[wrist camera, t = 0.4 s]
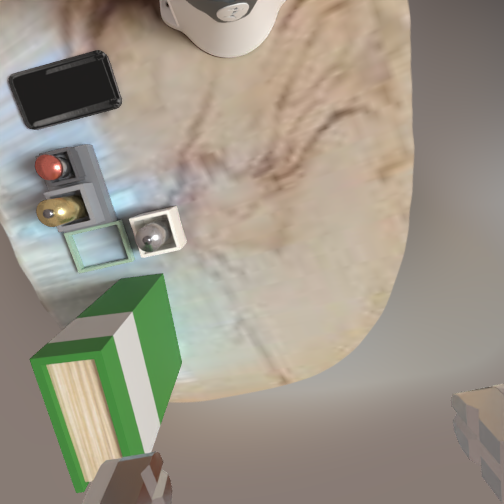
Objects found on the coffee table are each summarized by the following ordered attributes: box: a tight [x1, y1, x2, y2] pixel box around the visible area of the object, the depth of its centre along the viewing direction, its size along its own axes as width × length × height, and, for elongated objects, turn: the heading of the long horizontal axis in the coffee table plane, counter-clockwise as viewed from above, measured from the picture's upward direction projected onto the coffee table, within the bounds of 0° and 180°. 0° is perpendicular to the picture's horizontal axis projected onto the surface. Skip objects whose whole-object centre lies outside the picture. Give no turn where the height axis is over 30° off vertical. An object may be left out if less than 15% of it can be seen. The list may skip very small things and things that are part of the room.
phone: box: [9, 50, 122, 130], centre depth 48 cm, size 8×1×15 cm
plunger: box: [35, 155, 71, 180], centre depth 46 cm, size 3×3×3 cm
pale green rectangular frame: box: [64, 220, 135, 273], centre depth 54 cm, size 7×9×1 cm
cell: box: [36, 194, 89, 227], centre depth 47 cm, size 4×4×9 cm
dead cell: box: [135, 218, 173, 252], centre depth 49 cm, size 4×4×9 cm
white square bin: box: [129, 206, 187, 258], centre depth 51 cm, size 6×6×5 cm
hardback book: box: [30, 274, 182, 493], centre depth 47 cm, size 18×7×24 cm, turn 7°
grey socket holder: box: [36, 144, 117, 233], centre depth 50 cm, size 12×8×5 cm, turn 13°
